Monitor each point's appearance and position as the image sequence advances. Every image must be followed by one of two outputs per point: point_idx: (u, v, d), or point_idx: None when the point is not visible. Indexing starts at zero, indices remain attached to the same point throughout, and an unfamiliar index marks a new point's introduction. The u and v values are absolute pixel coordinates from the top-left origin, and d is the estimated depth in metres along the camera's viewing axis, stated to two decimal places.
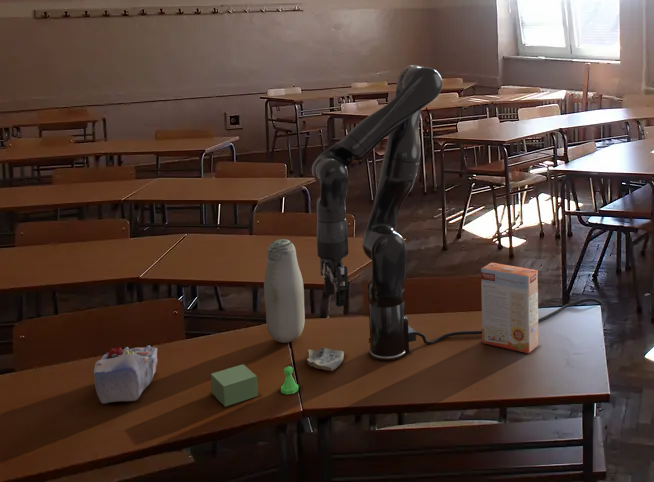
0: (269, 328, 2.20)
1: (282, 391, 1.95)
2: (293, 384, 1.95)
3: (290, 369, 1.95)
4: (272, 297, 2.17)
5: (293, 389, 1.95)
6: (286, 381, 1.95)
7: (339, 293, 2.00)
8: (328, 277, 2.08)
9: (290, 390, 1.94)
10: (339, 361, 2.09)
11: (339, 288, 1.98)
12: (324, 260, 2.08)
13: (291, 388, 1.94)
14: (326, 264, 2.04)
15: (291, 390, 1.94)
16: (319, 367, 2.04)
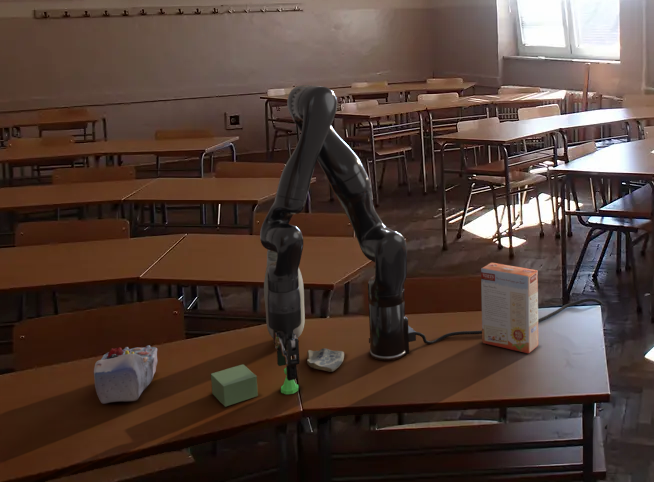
0: (269, 328, 2.20)
1: (282, 391, 1.95)
2: (293, 384, 1.95)
3: None
4: None
5: (293, 389, 1.95)
6: (286, 381, 1.95)
7: (290, 366, 1.90)
8: (281, 347, 1.98)
9: (290, 390, 1.94)
10: (339, 362, 2.09)
11: (289, 362, 1.88)
12: None
13: (291, 388, 1.94)
14: (278, 334, 1.94)
15: (291, 390, 1.94)
16: (319, 368, 2.04)
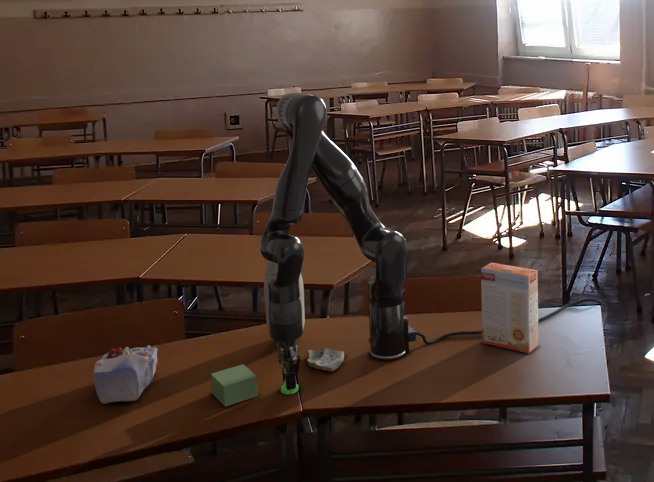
0: (269, 328, 2.20)
1: (282, 391, 1.95)
2: None
3: None
4: None
5: (293, 389, 1.95)
6: None
7: (289, 376, 1.93)
8: None
9: (290, 390, 1.94)
10: (339, 361, 2.09)
11: (289, 373, 1.91)
12: None
13: None
14: (279, 345, 1.94)
15: (291, 390, 1.94)
16: (320, 367, 2.04)
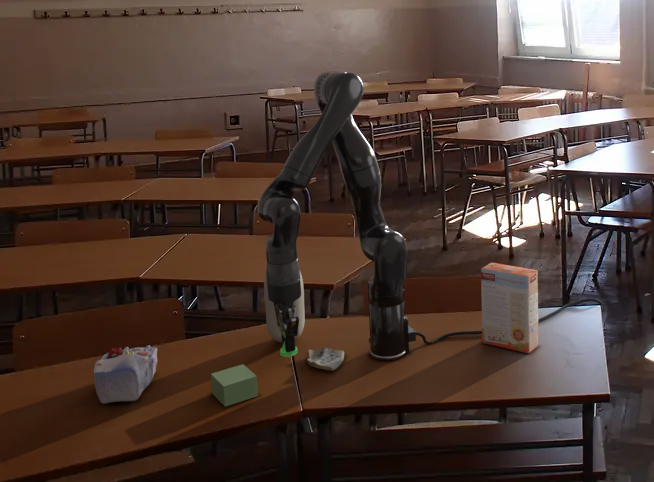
0: (269, 328, 2.20)
1: (281, 354, 1.93)
2: None
3: None
4: None
5: (292, 352, 1.93)
6: None
7: (288, 338, 1.92)
8: None
9: (289, 352, 1.93)
10: (340, 361, 2.09)
11: (288, 335, 1.89)
12: None
13: None
14: (278, 307, 1.93)
15: (290, 352, 1.93)
16: (320, 367, 2.04)
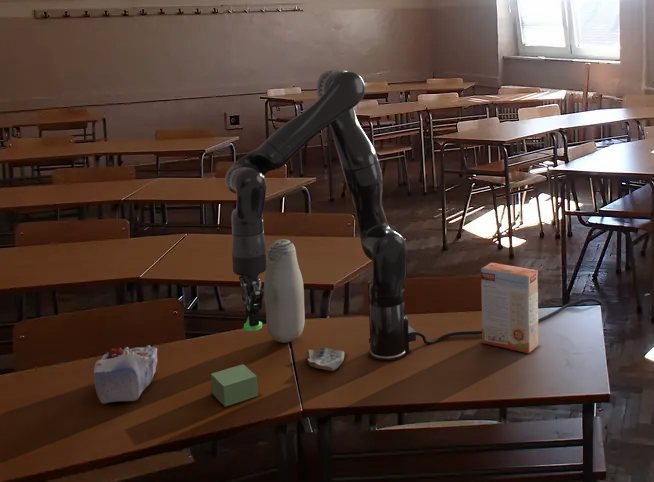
0: (269, 328, 2.20)
1: (245, 328, 1.91)
2: None
3: None
4: (272, 297, 2.17)
5: (256, 326, 1.91)
6: None
7: (252, 312, 1.89)
8: None
9: (253, 327, 1.90)
10: (340, 361, 2.09)
11: (251, 309, 1.87)
12: None
13: None
14: (243, 280, 1.90)
15: (254, 327, 1.90)
16: (320, 367, 2.04)
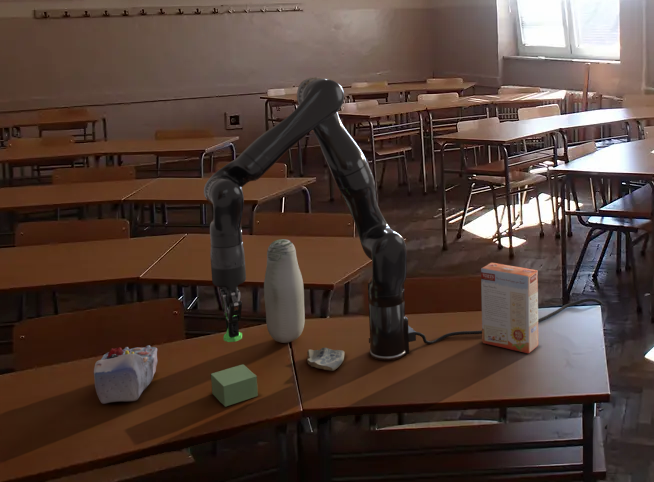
0: (269, 328, 2.20)
1: (224, 339, 1.91)
2: None
3: None
4: (272, 297, 2.17)
5: (236, 337, 1.91)
6: None
7: (231, 323, 1.89)
8: None
9: (233, 338, 1.90)
10: (340, 361, 2.09)
11: (230, 320, 1.87)
12: None
13: None
14: (222, 291, 1.90)
15: (234, 338, 1.90)
16: (320, 367, 2.04)
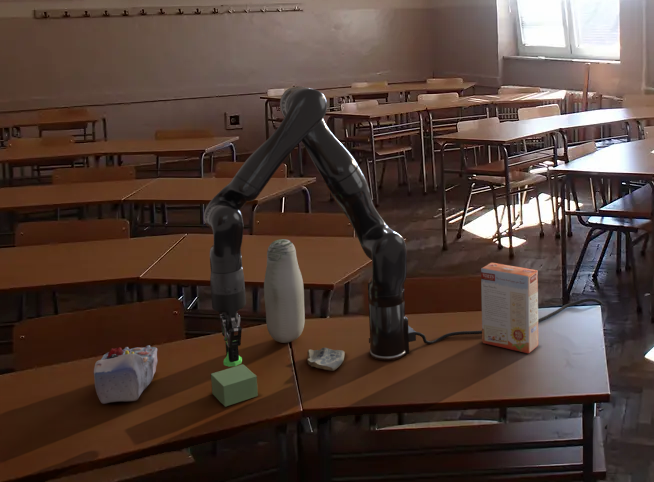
0: (269, 328, 2.20)
1: (224, 363, 1.92)
2: None
3: None
4: (272, 297, 2.17)
5: (236, 361, 1.92)
6: None
7: (231, 348, 1.90)
8: None
9: (232, 362, 1.91)
10: (340, 361, 2.09)
11: (230, 345, 1.88)
12: None
13: None
14: (222, 316, 1.91)
15: (233, 362, 1.91)
16: (320, 367, 2.04)
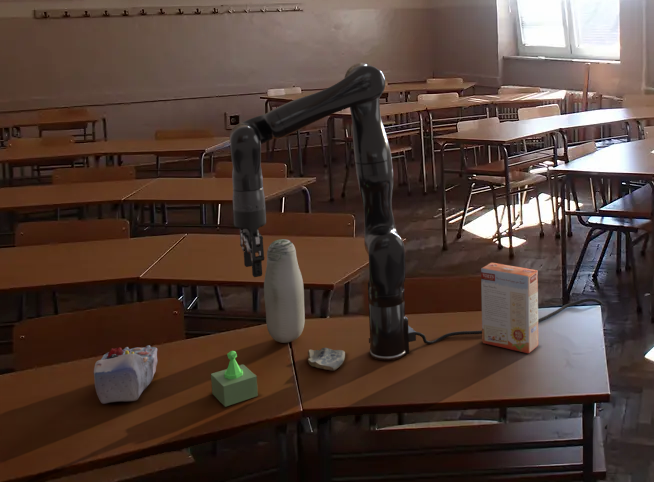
0: (269, 328, 2.20)
1: (225, 376, 1.92)
2: (237, 369, 1.93)
3: (233, 353, 1.92)
4: (272, 297, 2.17)
5: (237, 374, 1.92)
6: (229, 366, 1.92)
7: (255, 263, 1.96)
8: None
9: (233, 374, 1.92)
10: (341, 361, 2.09)
11: (254, 258, 1.94)
12: None
13: (234, 372, 1.92)
14: (243, 234, 2.00)
15: (234, 375, 1.92)
16: (321, 367, 2.04)
